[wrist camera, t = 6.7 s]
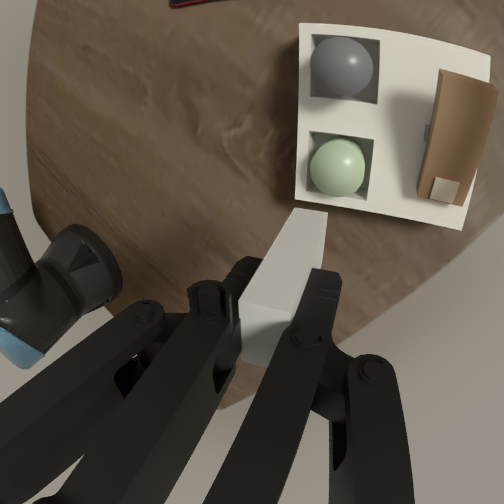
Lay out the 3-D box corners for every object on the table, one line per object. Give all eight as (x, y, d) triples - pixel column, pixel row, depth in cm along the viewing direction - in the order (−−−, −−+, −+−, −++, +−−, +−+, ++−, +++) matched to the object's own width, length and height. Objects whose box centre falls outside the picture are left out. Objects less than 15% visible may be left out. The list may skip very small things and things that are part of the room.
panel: (304, 184, 30) (291, 205, 26) (308, 30, 22) (295, 20, 18) (452, 211, 26) (464, 237, 21) (475, 58, 18) (496, 55, 13)
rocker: (416, 185, 22) (417, 197, 21) (438, 68, 15) (443, 75, 14) (460, 195, 21) (462, 208, 20) (492, 84, 13) (499, 92, 13)
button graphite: (318, 90, 22) (309, 92, 19) (319, 41, 20) (310, 34, 17) (371, 96, 21) (371, 99, 18) (373, 46, 19) (373, 40, 16)
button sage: (316, 177, 28) (308, 192, 25) (319, 132, 25) (311, 141, 22) (362, 185, 26) (360, 201, 23) (367, 139, 24) (367, 148, 21)
